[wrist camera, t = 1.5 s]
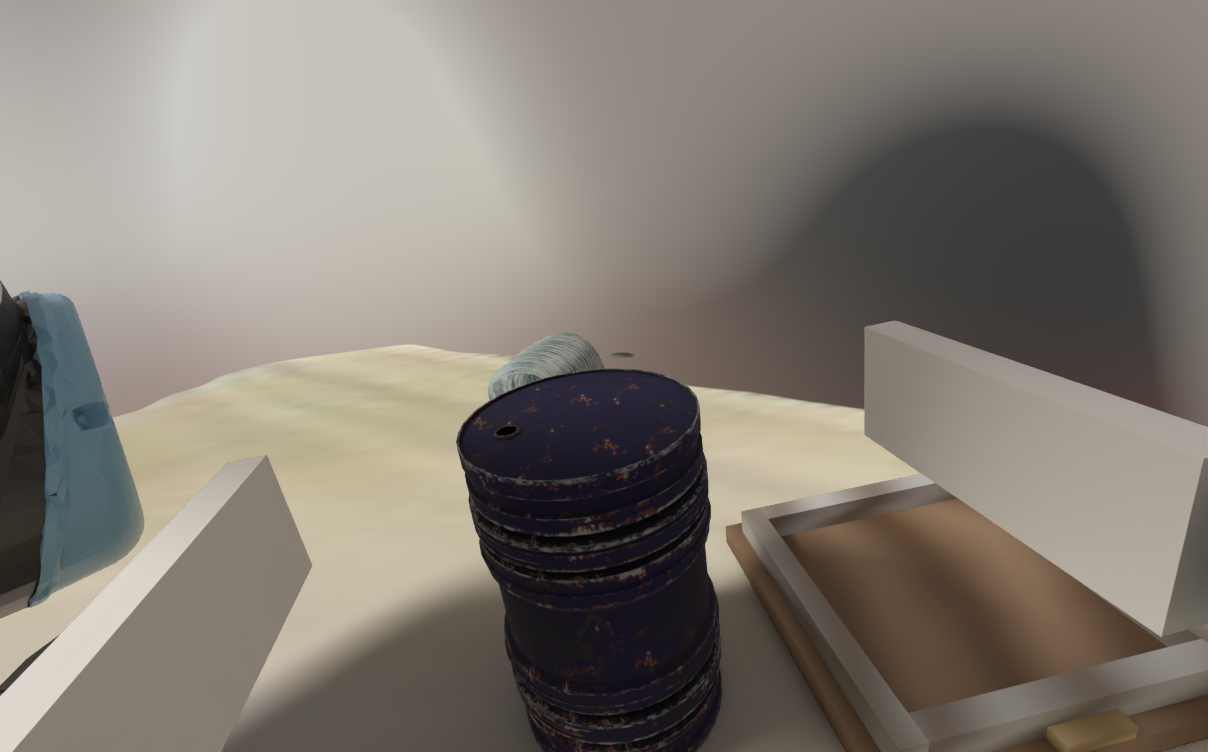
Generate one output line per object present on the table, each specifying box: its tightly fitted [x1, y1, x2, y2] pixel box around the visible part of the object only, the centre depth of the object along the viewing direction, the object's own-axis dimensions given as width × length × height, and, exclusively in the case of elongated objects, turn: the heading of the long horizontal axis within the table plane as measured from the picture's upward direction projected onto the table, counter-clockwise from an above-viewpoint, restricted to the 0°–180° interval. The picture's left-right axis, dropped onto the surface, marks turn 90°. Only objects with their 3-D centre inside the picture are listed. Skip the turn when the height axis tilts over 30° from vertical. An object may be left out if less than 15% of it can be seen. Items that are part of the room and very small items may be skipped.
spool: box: [488, 333, 604, 400], centre depth 56 cm, size 14×10×10 cm
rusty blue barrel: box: [456, 369, 722, 752], centre depth 25 cm, size 10×10×15 cm
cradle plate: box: [726, 474, 1208, 752], centre depth 29 cm, size 17×17×3 cm
